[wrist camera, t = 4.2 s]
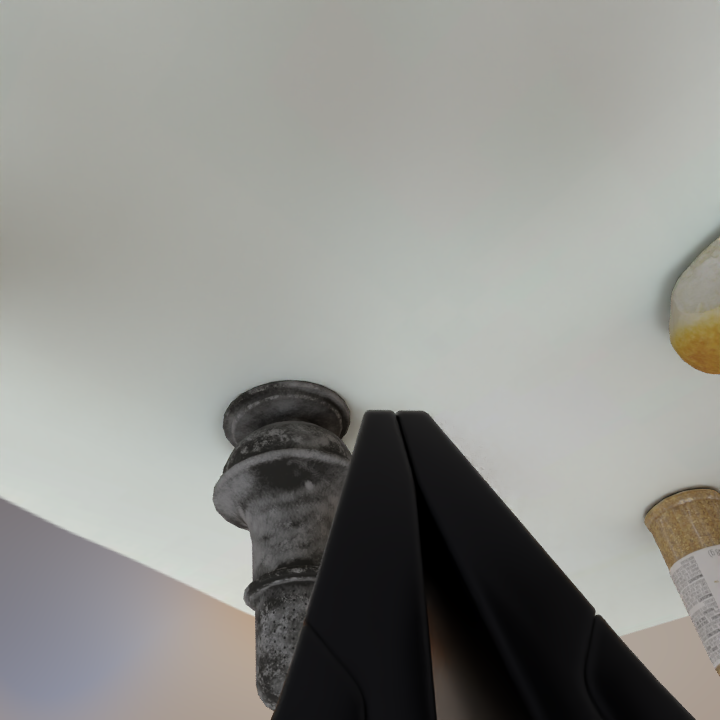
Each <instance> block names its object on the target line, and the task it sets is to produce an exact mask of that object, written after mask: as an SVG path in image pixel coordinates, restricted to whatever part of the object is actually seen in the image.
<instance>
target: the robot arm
mask: <svg viewBox="0 0 720 720" xmlns="http://www.w3.org/2000/svg"><path fill="white" fill-rule="evenodd" d="M271 720H695V718H694V717H693V716H692V715H691V714H690V713H689V712H688V711H687V710H686V709H685V708H684V707H683V706H682V705H681V704H680V703H679V702H678V701H677V700H676V699H675V698H674V697H673V696H672V695H671V694H670V693H669V692H668V690H667V689H666V688H665V687H664V686H663V685H661V684H660V682H659V681H658V680H657V679H656V678H655V677H654V676H653V675H652V673H651V672H650V671H649V670H648V669H647V668H646V667H645V666H644V664H643V663H642V662H641V661H640V660H639V659H638V658H637V657H636V656H635V654H634V653H633V652H632V651H631V650H630V649H629V648H628V647H627V645H626V644H625V643H624V642H623V641H622V640H621V639H620V637H619V636H618V635H617V634H616V633H615V632H614V630H613V629H612V628H611V627H610V626H609V625H608V623H607V622H606V621H605V620H604V619H603V618H602V616H601V615H595V609H594V607H593V606H592V605H591V604H590V603H589V602H588V600H587V599H586V598H585V597H584V596H583V594H582V593H581V592H580V591H579V590H578V589H577V587H576V586H575V585H574V584H573V583H572V582H571V580H570V579H569V578H568V577H567V576H566V575H565V573H564V572H563V571H562V570H561V569H560V568H559V566H558V565H557V564H556V563H555V562H554V561H553V559H552V558H551V557H550V556H549V555H548V554H547V552H546V551H545V550H544V549H543V548H542V546H541V545H540V544H539V543H538V542H537V541H536V539H535V538H534V537H533V536H532V535H531V534H530V532H529V531H528V530H527V529H526V528H525V527H524V525H523V524H522V523H521V522H520V521H519V520H518V518H517V517H516V516H515V515H514V514H513V513H512V511H511V510H510V509H509V508H508V507H507V506H506V504H505V503H504V502H503V501H502V500H501V498H500V497H499V496H498V495H497V494H496V493H495V491H494V490H493V489H492V488H491V487H490V486H489V484H488V483H487V482H486V481H485V480H484V479H483V477H482V476H481V475H480V474H479V473H478V472H477V470H476V469H475V468H474V467H473V466H472V465H471V463H470V462H469V461H468V460H467V459H466V458H465V456H464V455H463V454H462V453H461V452H460V450H459V449H458V448H457V447H456V446H455V445H454V443H453V442H452V441H451V440H450V439H449V438H448V436H447V435H446V434H445V433H444V432H443V431H442V429H441V428H440V427H439V426H438V425H437V424H436V422H435V421H434V420H433V419H432V418H431V417H430V415H429V414H427V413H426V412H424V411H398V412H397V413H396V414H395V413H394V412H393V411H391V410H368V411H366V412H365V414H364V416H363V420H362V423H361V426H360V430H359V433H358V437H357V440H356V443H355V447H354V450H353V454H352V457H351V460H350V464H349V467H348V471H347V474H346V478H345V481H344V484H343V488H342V491H341V495H340V498H339V501H338V505H337V508H336V512H335V515H334V518H333V522H332V525H331V529H330V532H329V536H328V539H327V542H326V546H325V549H324V553H323V556H322V559H321V563H320V566H319V570H318V573H317V576H316V580H315V583H314V587H313V590H312V594H311V597H310V600H309V604H308V607H307V611H306V614H305V617H304V622H303V626H302V627H301V630H300V633H299V637H298V640H297V643H296V647H295V650H294V654H293V657H292V660H291V663H290V666H289V669H288V672H287V675H286V678H285V681H284V684H283V687H282V690H281V693H280V696H279V699H278V702H277V705H276V708H275V710H274V713H273V715H272V718H271Z"/></svg>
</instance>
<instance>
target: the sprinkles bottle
mask: <svg viewBox="0 0 720 720" xmlns="http://www.w3.org/2000/svg"><path fill="white" fill-rule="evenodd" d="M644 522H645V525H646V526H647V528H648V529H649V531H650V532H652V534H653V536H654V538H655V541H656V543H657V545H658V547H659V549H660V551H661V553H662V555H663V558H664V560H665V562H666V564H667V566H668V568H669V571H670V575H671V578H672V580H673V582H674V584H675V586H676V588H677V590H678V592H679V594H680V597H681V599H682V601H683V603H684V605H685V607H686V609H687V611H688V613H689V616H690V617H691V620H692V622H693V624H694V626H695V628H696V630H697V632H698V634H699V637H700V639H701V641H702V643H703V645H704V647H705V649H706V651H707V654H708V656H709V658H710V660H711V662H712V664H713V666H714V668H715V670H716V671H717V673H718V674H719V676H720V493H718V492H716V491H715V490H711V489H693V490H687V491H683V492H679V493H677V494H675V495H672V496H670V497H667V498H665V499H664V500H662V501H661V502H659V503H658V504H657V505H655V506H654V507H653V508H652V509H651V510H650V511H649V512H648V513H647V515H646V517H645V521H644Z"/></svg>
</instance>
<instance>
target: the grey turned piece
mask: <svg viewBox="0 0 720 720" xmlns="http://www.w3.org/2000/svg"><path fill="white" fill-rule="evenodd" d="M349 424H350V415H349V409H348V407H347V405H346V404H345V402H344V400H343V399H342V398H340V397H339V396H338V395H337V394H336V393H335V392H333V391H331V390H329V389H327V388H325V387H323V386H320V385H317V384H313V383H309V382H300V381H282V382H273V383H268V384H265V385H262V386H258V387H255V388H253V389H251V390H249V391H247V392H245V393H243V394H242V395H240V396H239V397H238V398H237V399H236V400H234V401H233V402H232V403H231V404H230V406H229V407H228V409H227V411H226V413H225V414H224V421H223V429H224V432H225V435H226V438H227V439H228V440H229V441H230V443H231V444H232V445H233V446H234V447H235V448H234V450H233V451H232V453H231V455H230V457H229V459H228V461H227V463H226V465H225V466H224V469H223V475H222V476H221V477H220V479H219V480H218V482H217V483H216V485H215V487H214V493H213V502H214V505H215V508H216V510H217V512H218V513H219V514H220V515H221V516H222V517H223V518H224V519H225V520H226V521H228V522H230V523H232V524H233V525H235V526H237V527H239V528H242V529H245V530H248V531H249V532H250V536H251V540H252V557H253V582H252V583H250V584H249V586H248V587H247V588H246V589H245V592H244V601H245V603H246V605H248V606H249V607H250V608H251V609H253V610H255V620H256V621H255V623H256V624H255V626H256V627H255V628H256V686H257V691H258V695H259V697H260V699H261V700H262V701H263V703H264V704H265V705H266V707H269V708H270V709H271V710H273V711H274V710H275V708H276V705H277V702H278V699H279V696H280V693H281V690H282V687H283V684H284V681H285V678H286V675H287V672H288V669H289V666H290V663H291V660H292V657H293V654H294V650H295V647H296V643H297V640H298V637H299V633H300V630H301V627H302V626H303V622H304V617H305V614H306V611H307V607H308V604H309V600H310V597H311V594H312V590H313V587H314V583H315V580H316V576H317V573H318V570H319V566H320V563H321V559H322V556H323V553H324V549H325V546H326V542H327V539H328V536H329V532H330V529H331V525H332V522H333V518H334V515H335V512H336V508H337V505H338V501H339V498H340V495H341V491H342V488H343V484H344V481H345V478H346V474H347V471H348V467H349V464H350V460H351V457H352V455H351V453H350V451H349V450H348V448H347V447H346V445H345V444H344V442H343V441H342V440H341V439H342V438H343V436H344V435H345V434H346V433H347V430H348V427H349Z"/></svg>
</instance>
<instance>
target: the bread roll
mask: <svg viewBox="0 0 720 720" xmlns="http://www.w3.org/2000/svg"><path fill="white" fill-rule="evenodd" d="M669 334H670V341H671V344H672V346H673V348H674V349H675V351H676V352H677V353H678V355H679V356H680V357H681V358H682V359H683V360H684V361H685V362H686V363H688V364H689V365H691V366H692V367H693V368H695V369H697V370H700V371H702V372H705V373H710V374H720V237H719V238H718V239H716V240H715V241H714V242H713V243H711V244H710V245H709V246H708V247H707V248H706V249H705V250H704V251H703V252H702V253H701V254H700V255H699V256H698V257H697V258H696V259H695V260H694V261H693V262H692V264H691V265H690V266H689V267H688V268H687V269H686V270H685V271H684V272H683V273H682V275H681V276H680V277H679V279H678V280H677V282H676V284H675V286H674V289H673V291H672V296H671V312H670V320H669Z"/></svg>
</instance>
